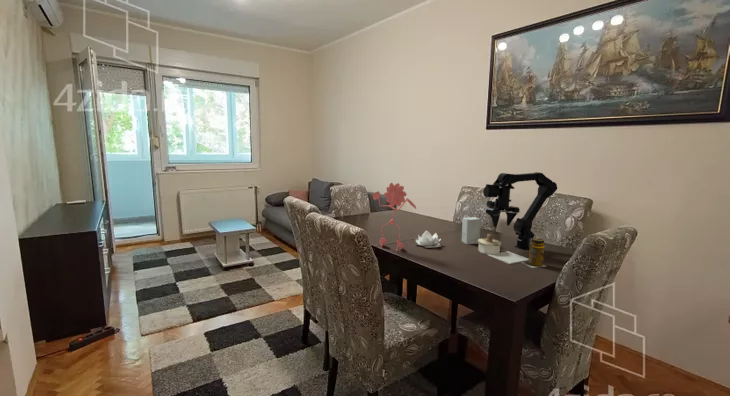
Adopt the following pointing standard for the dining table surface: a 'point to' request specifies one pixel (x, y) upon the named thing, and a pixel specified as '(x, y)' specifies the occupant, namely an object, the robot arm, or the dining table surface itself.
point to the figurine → (393, 197)
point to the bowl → (488, 249)
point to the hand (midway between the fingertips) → (501, 226)
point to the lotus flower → (428, 239)
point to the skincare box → (471, 230)
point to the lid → (489, 241)
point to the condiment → (536, 254)
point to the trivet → (509, 257)
